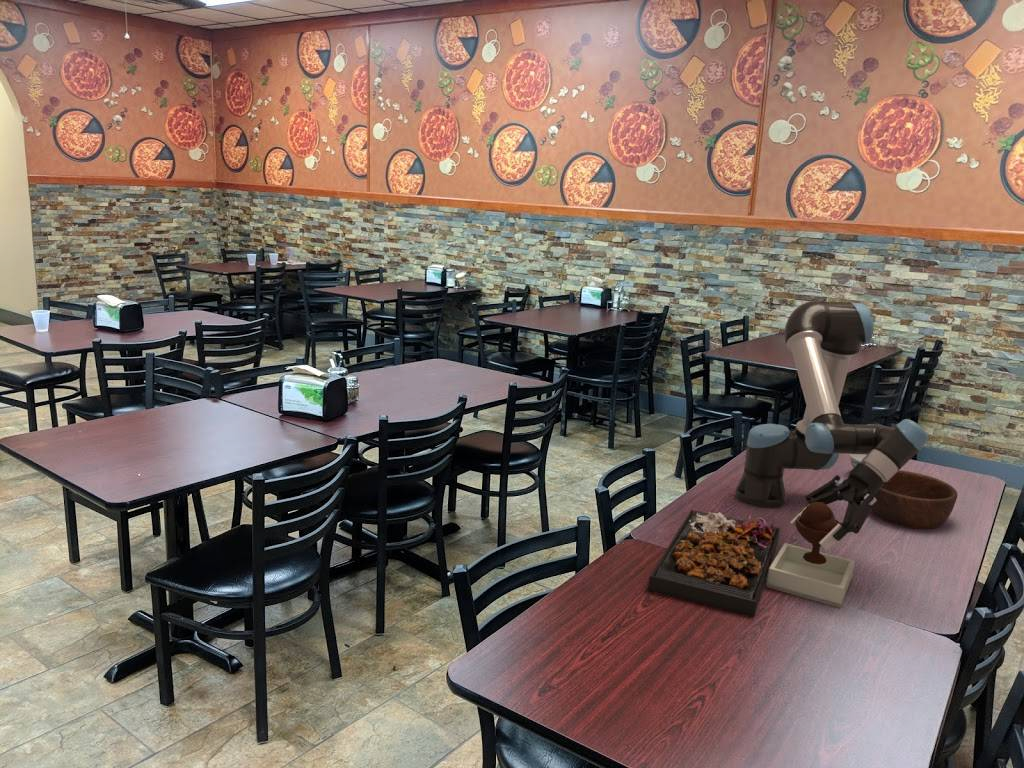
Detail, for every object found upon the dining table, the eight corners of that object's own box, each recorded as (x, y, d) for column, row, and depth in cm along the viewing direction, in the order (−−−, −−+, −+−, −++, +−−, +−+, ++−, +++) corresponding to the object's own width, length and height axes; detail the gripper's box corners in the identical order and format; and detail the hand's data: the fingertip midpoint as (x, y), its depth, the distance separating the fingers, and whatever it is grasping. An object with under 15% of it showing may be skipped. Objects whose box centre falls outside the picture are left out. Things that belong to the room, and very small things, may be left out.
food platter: (689, 523, 230) (693, 490, 227) (778, 542, 220) (782, 508, 218) (647, 592, 190) (651, 553, 188) (753, 619, 181) (759, 578, 178)
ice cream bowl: (842, 571, 189) (851, 513, 185) (793, 565, 191) (801, 507, 187) (834, 552, 199) (843, 496, 195) (787, 546, 201) (795, 491, 198)
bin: (766, 587, 194) (769, 568, 193) (782, 560, 209) (784, 542, 207) (840, 608, 186) (843, 588, 185) (851, 578, 200) (854, 560, 199)
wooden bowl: (958, 539, 226) (965, 506, 224) (863, 524, 234) (869, 491, 231) (943, 507, 249) (949, 476, 247) (857, 494, 257) (862, 464, 254)
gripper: (914, 501, 183) (846, 568, 183) (849, 465, 205) (788, 525, 205) (899, 480, 181) (830, 548, 181) (834, 447, 203) (772, 507, 203)
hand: (807, 536), depth 193 cm, fingers closed on ice cream bowl, 11 cm apart
